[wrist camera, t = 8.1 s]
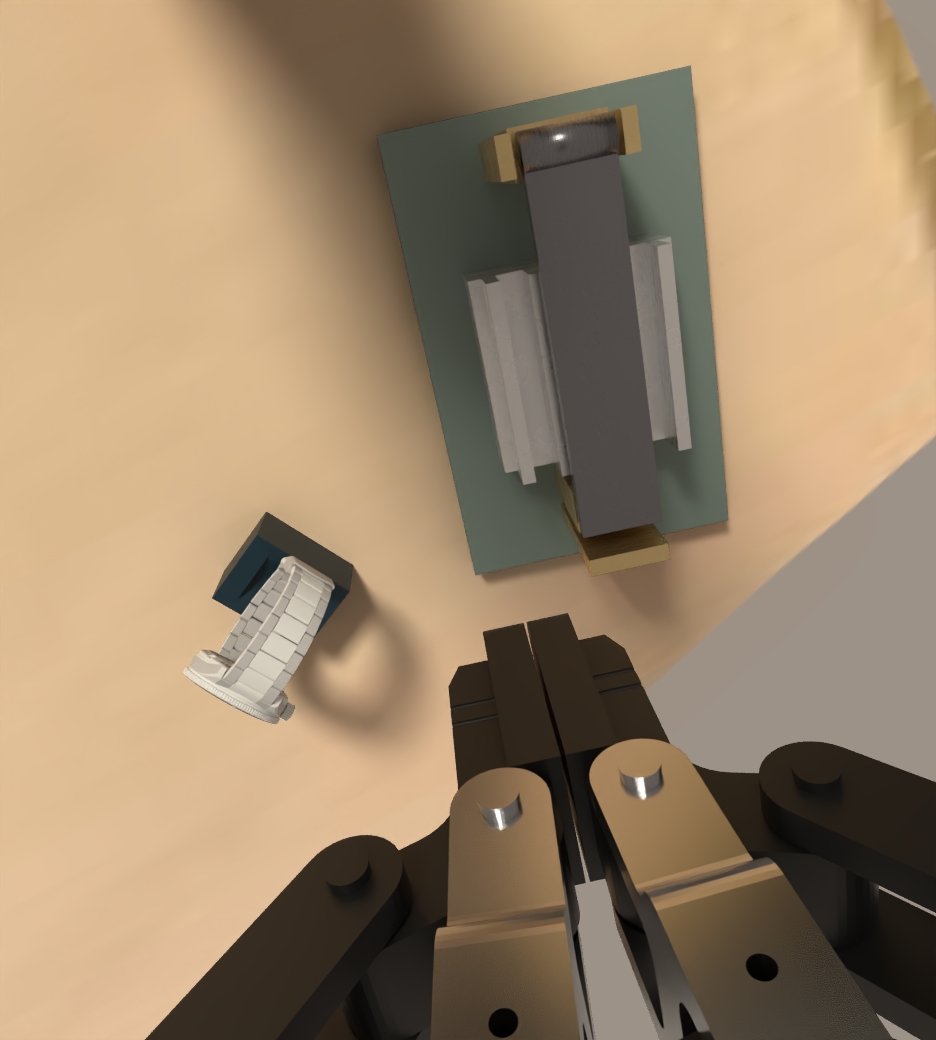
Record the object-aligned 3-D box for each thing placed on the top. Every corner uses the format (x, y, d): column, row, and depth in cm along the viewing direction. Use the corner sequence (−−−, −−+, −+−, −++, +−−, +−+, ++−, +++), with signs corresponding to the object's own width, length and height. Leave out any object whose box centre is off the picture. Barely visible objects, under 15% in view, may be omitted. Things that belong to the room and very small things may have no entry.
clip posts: (477, 138, 36) (494, 129, 29) (597, 112, 36) (641, 96, 29) (546, 520, 43) (572, 580, 37) (645, 498, 43) (689, 554, 36)
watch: (205, 597, 45) (148, 718, 35) (284, 486, 43) (248, 580, 33) (292, 646, 47) (262, 775, 36) (372, 542, 44) (364, 648, 34)
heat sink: (462, 274, 38) (471, 287, 33) (651, 232, 38) (685, 240, 33) (498, 454, 41) (510, 487, 37) (670, 416, 41) (704, 445, 37)
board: (377, 137, 37) (376, 135, 35) (679, 69, 37) (690, 65, 35) (473, 563, 45) (475, 575, 44) (718, 509, 45) (728, 520, 44)
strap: (513, 132, 31) (518, 130, 30) (605, 112, 31) (615, 108, 30) (578, 527, 37) (585, 541, 36) (654, 511, 37) (665, 524, 36)
